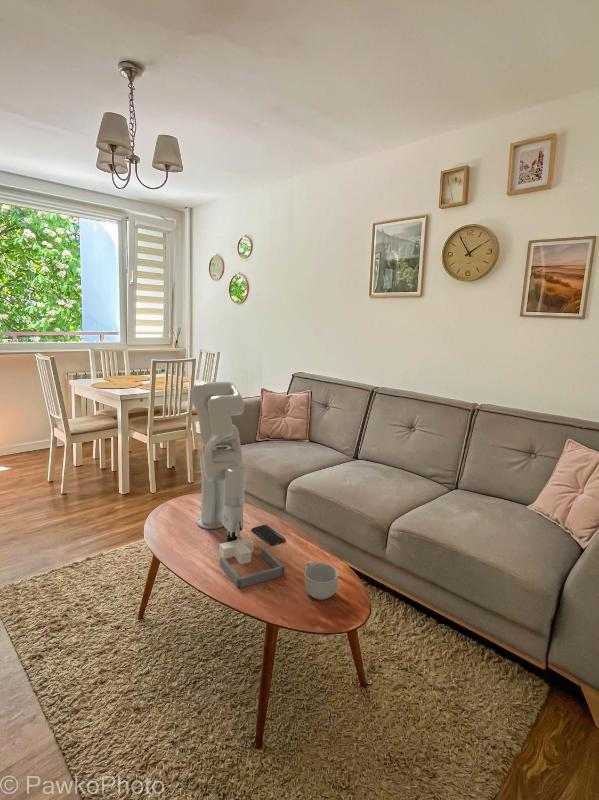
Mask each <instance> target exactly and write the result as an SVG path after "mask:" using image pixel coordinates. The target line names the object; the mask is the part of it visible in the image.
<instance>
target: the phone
mask: <svg viewBox="0 0 599 800" xmlns="http://www.w3.org/2000/svg"><path fill="white" fill-rule="evenodd" d="M250 530H251V532H252V533H253V534H254V535H255V534H256V535H255V536H257V537H258V538H259V537H260V538H259V539H260V540H262V541H263V540H264V541H265V542H264V541H263V542H264V543H266V544H267V545H268V544H269V546H270V545H272V546H275V545H274V544H276V545H278V544H277V543H279V544H282V543H284V541H285V542H286V537H284V536H283V535H281V534H280V533H279V532H277V531H276V530H275V529H273V528H272V527H270V526H269V525H267V524H262V525H259V526H255V527H252V528H251V529H250ZM281 542H282V543H281Z"/></svg>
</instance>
